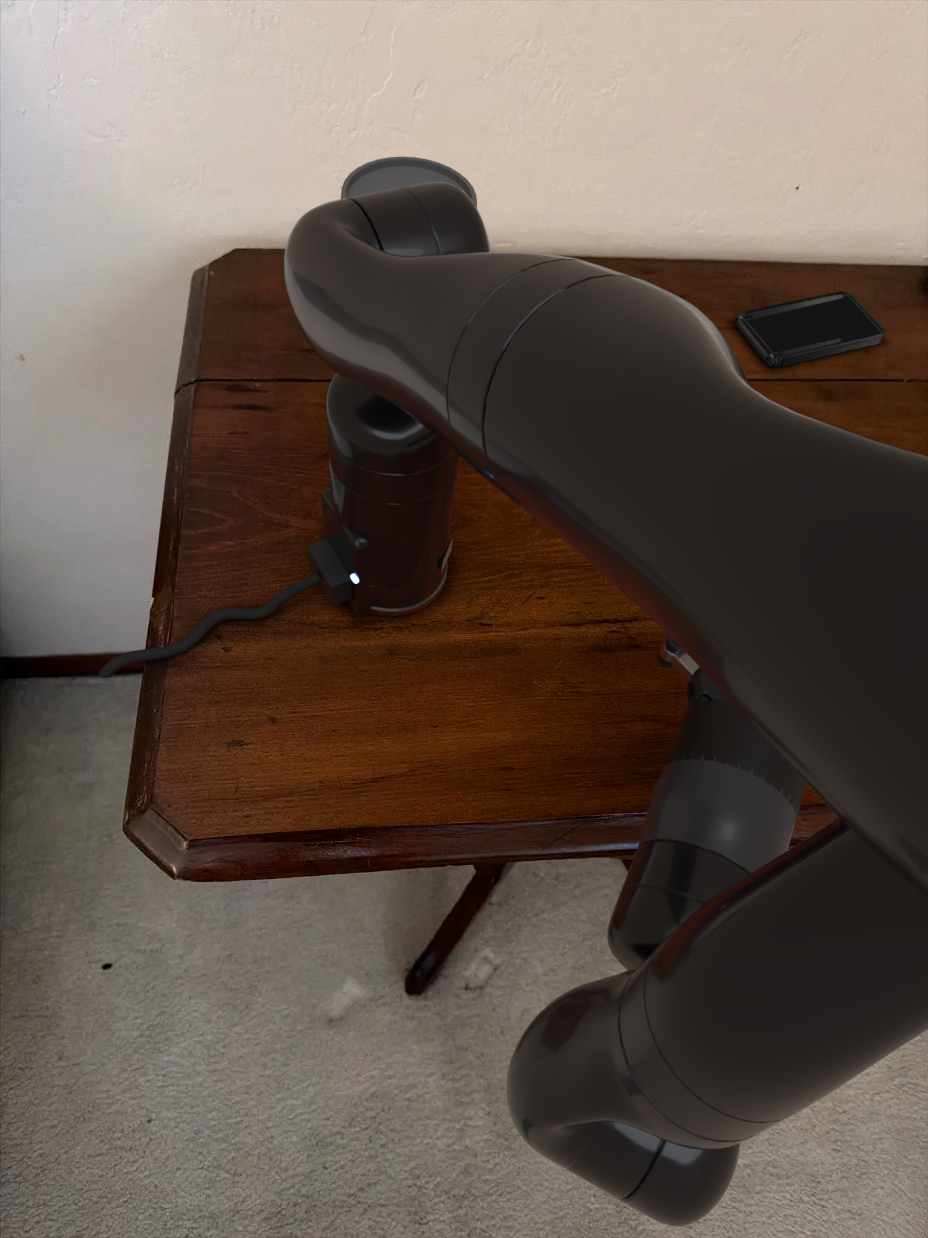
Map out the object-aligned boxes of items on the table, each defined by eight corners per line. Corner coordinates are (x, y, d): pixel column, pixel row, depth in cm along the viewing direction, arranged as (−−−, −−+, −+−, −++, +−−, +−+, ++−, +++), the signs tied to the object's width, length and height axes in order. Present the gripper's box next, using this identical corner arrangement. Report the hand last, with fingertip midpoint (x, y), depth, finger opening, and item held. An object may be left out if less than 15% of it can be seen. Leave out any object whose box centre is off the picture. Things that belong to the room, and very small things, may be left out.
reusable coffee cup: (317, 323, 90) (308, 184, 77) (411, 277, 95) (417, 139, 82) (397, 393, 86) (400, 257, 73) (490, 340, 91) (509, 205, 78)
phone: (734, 313, 95) (848, 289, 99) (731, 321, 96) (843, 297, 99) (773, 361, 91) (890, 334, 95) (769, 370, 92) (885, 343, 96)
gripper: (879, 839, 45) (936, 592, 54) (625, 719, 47) (720, 501, 56) (816, 880, 51) (876, 653, 60) (595, 773, 53) (684, 569, 62)
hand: (800, 581), depth 58 cm, fingers closed on marker, 2 cm apart
